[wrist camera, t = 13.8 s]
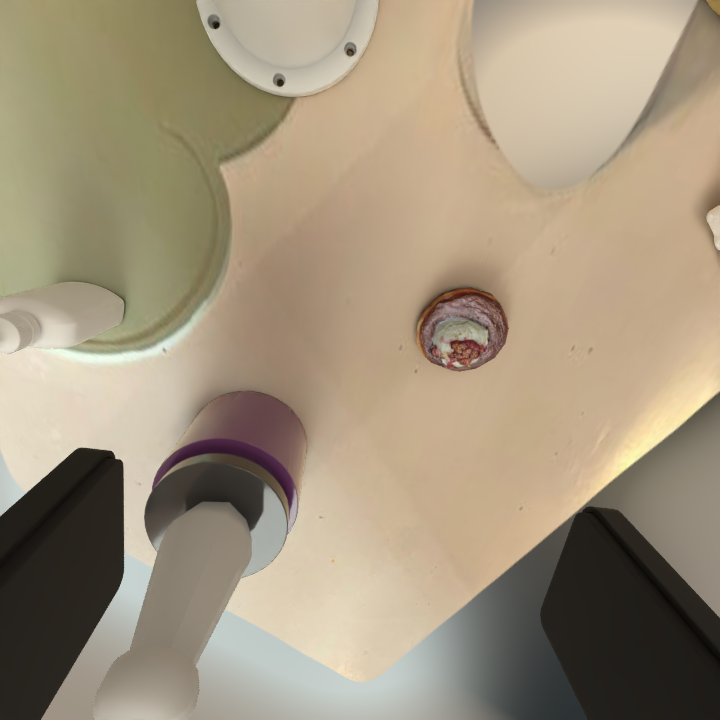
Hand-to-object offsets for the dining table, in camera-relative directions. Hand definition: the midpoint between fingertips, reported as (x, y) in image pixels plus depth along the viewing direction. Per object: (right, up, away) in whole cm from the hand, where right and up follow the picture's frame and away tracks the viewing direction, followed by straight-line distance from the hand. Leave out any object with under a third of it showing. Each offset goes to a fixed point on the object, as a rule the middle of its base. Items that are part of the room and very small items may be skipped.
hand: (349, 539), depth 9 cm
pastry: (+9, +7, +30) cm, 32 cm away
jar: (-10, -4, +33) cm, 35 cm away
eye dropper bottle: (-22, +9, +28) cm, 37 cm away
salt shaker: (-10, -8, +22) cm, 26 cm away
